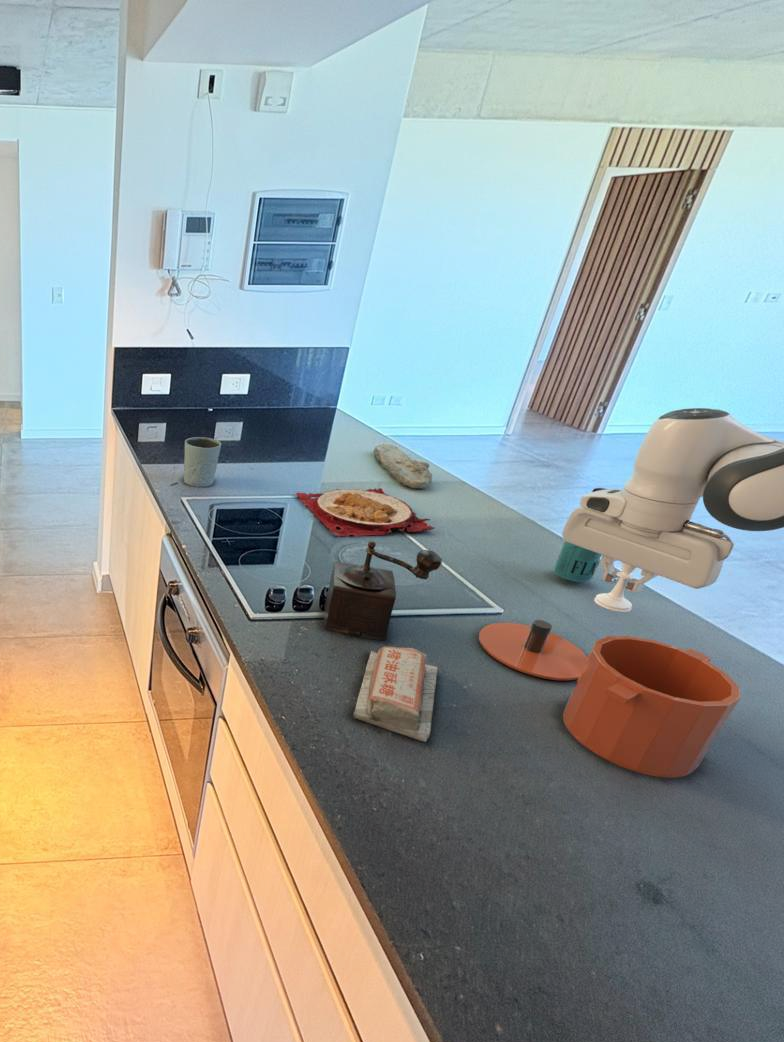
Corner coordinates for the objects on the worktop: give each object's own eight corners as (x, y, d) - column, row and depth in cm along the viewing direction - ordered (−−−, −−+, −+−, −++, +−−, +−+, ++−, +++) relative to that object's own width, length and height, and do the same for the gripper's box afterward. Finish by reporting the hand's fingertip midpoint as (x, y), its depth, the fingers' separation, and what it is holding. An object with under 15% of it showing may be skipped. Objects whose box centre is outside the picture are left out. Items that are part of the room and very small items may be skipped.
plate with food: (379, 494, 169) (382, 483, 168) (433, 533, 146) (437, 519, 145) (294, 498, 169) (296, 486, 167) (334, 537, 146) (337, 523, 144)
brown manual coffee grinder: (322, 632, 111) (341, 543, 103) (324, 601, 121) (341, 518, 112) (418, 651, 106) (446, 559, 98) (412, 617, 115) (437, 531, 107)
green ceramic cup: (181, 474, 184) (184, 436, 179) (215, 476, 183) (219, 437, 178) (182, 487, 175) (185, 447, 170) (218, 488, 174) (222, 448, 169)
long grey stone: (396, 456, 201) (364, 456, 202) (399, 440, 199) (366, 441, 200) (440, 490, 169) (401, 491, 171) (444, 472, 167) (404, 472, 169)
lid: (609, 667, 101) (624, 637, 99) (550, 694, 96) (564, 663, 93) (514, 619, 114) (524, 591, 112) (457, 640, 109) (467, 611, 106)
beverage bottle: (560, 587, 124) (598, 496, 115) (543, 571, 130) (577, 483, 121) (597, 590, 123) (637, 498, 114) (577, 574, 129) (614, 485, 120)
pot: (728, 750, 85) (774, 679, 79) (646, 800, 78) (690, 726, 72) (608, 687, 97) (641, 621, 91) (528, 726, 90) (558, 657, 84)
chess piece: (627, 615, 102) (651, 562, 97) (590, 603, 105) (612, 552, 101) (634, 604, 105) (657, 552, 100) (597, 593, 108) (619, 542, 104)
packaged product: (436, 719, 84) (358, 694, 89) (427, 745, 87) (352, 720, 91) (443, 650, 98) (375, 632, 103) (435, 674, 100) (369, 655, 105)
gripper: (750, 531, 90) (708, 611, 96) (593, 486, 107) (567, 557, 113) (727, 540, 88) (686, 621, 94) (571, 493, 104) (545, 564, 111)
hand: (620, 585), depth 103 cm, fingers closed on chess piece
